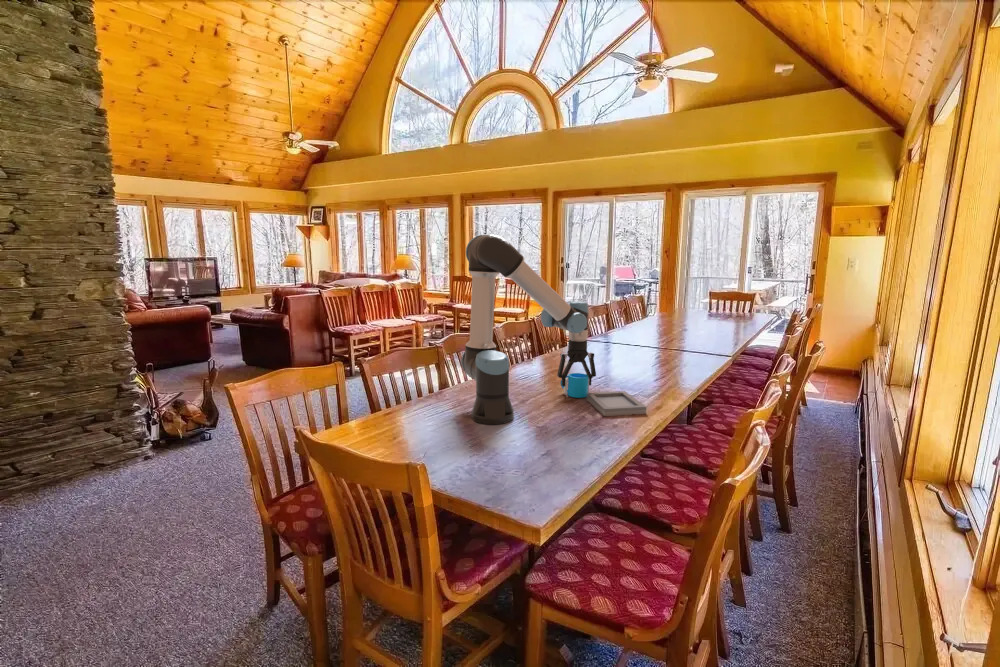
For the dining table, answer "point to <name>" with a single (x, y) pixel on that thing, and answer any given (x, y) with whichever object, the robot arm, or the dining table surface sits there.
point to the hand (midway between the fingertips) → (576, 393)
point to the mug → (577, 385)
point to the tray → (616, 403)
